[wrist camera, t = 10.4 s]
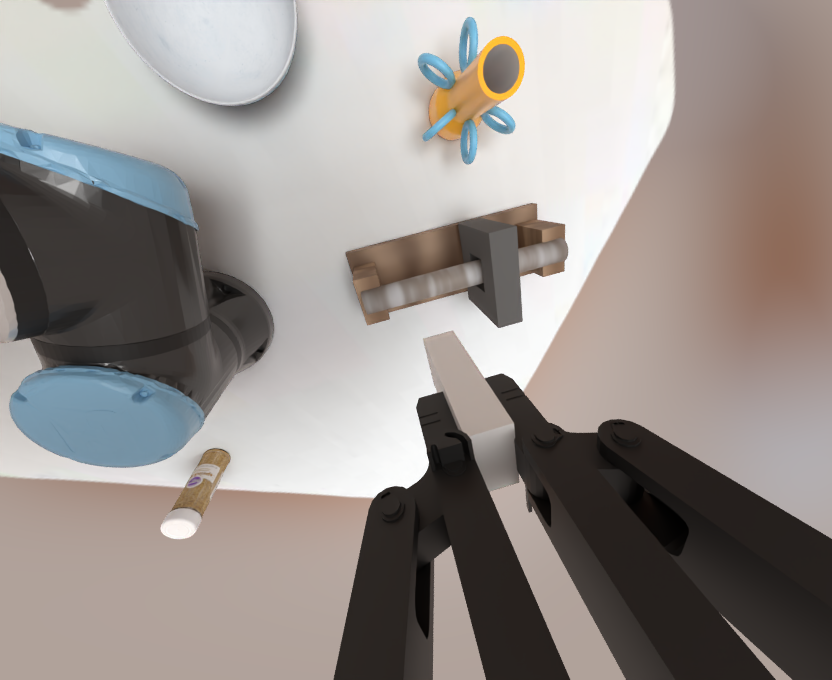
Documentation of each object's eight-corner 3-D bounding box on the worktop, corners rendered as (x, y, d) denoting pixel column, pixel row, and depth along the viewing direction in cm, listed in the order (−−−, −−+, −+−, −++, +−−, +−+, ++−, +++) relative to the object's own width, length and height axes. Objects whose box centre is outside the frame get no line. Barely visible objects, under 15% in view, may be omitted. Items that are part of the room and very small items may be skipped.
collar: (468, 298, 45) (498, 328, 36) (457, 223, 40) (488, 233, 31) (487, 293, 46) (522, 321, 36) (479, 217, 40) (516, 225, 31)
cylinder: (490, 164, 41) (552, 152, 28) (415, 171, 40) (442, 162, 27) (493, 45, 35) (572, -42, 22) (406, 49, 34) (434, -40, 21)
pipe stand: (366, 314, 48) (368, 345, 38) (346, 252, 43) (342, 269, 33) (533, 269, 49) (575, 287, 39) (531, 203, 44) (577, 206, 35)
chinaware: (336, 28, 33) (330, -15, 26) (267, 152, 36) (246, 143, 30) (189, -127, 27) (131, -236, 20) (125, 41, 30) (58, -2, 24)
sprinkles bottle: (220, 444, 54) (181, 516, 42) (236, 460, 56) (202, 533, 44) (197, 453, 54) (151, 528, 42) (213, 469, 56) (174, 544, 44)
